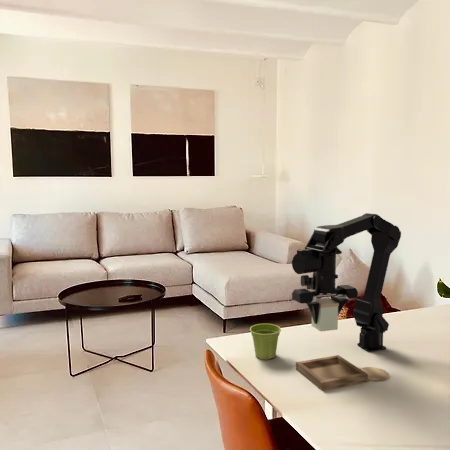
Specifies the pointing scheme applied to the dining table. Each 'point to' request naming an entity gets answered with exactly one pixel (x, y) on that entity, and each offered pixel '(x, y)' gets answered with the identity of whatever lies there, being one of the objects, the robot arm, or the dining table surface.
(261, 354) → the plant pot
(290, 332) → the dining table surface
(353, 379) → the walnut tray
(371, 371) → the cork coaster
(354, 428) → the dining table surface
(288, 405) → the dining table surface
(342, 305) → the robot arm
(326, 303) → the sage canister
